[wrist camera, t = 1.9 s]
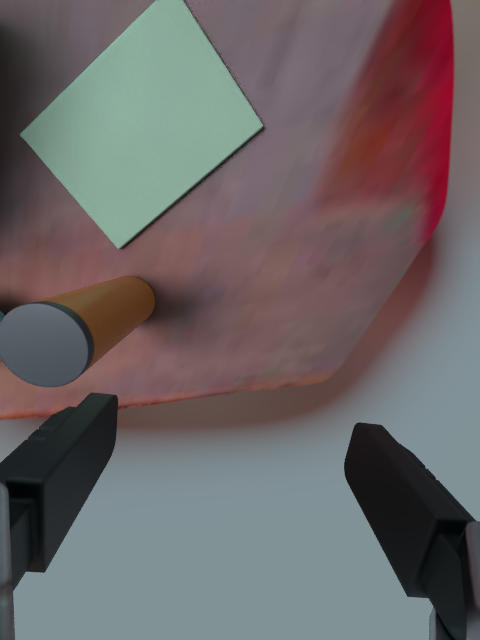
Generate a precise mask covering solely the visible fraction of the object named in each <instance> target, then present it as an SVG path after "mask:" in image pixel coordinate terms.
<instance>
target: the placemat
mask: <svg viewBox="0 0 480 640" xmlns="http://www.w3.org/2000/svg"><path fill="white" fill-rule="evenodd" d="M262 128H263V124H262V123H261V121H260V120H259V118H258V117H257V115H256V113H255V112H254V110H253V109H252V107H251V106H250V104H249V103H248V101H247V99H246V98H245V96H244V95H243V93H242V92H241V90H240V88H239V87H238V85H237V84H236V82H235V81H234V79H233V78H232V76H231V74H230V73H229V71H228V70H227V68H226V67H225V65H224V64H223V62H222V60H221V59H220V57H219V56H218V54H217V53H216V51H215V50H214V48H213V46H212V45H211V43H210V42H209V40H208V39H207V37H206V36H205V34H204V32H203V31H202V29H201V28H200V26H199V25H198V23H197V22H196V20H195V18H194V17H193V15H192V14H191V12H190V11H189V9H188V7H187V6H186V4H185V3H184V1H183V0H156V1H155V2H154V3H153V4H152V5H150V6H149V7H148V8H147V9H146V10H145V11H144V12H143V13H142V14H141V15H140V16H139V17H138V18H137V19H136V20H135V21H134V22H133V23H132V24H131V25H130V26H129V27H128V28H127V29H126V30H125V31H124V32H123V33H122V34H121V35H120V36H119V37H118V38H117V39H116V40H115V41H114V42H113V43H112V44H111V45H110V46H109V47H108V48H107V49H106V50H105V51H104V52H103V53H102V54H101V55H100V56H99V57H98V58H97V59H96V60H95V61H94V62H93V63H92V64H91V65H90V66H88V67H87V68H86V69H85V70H84V71H83V72H82V73H81V74H80V75H79V76H78V77H77V78H76V79H75V80H74V81H73V82H72V83H71V84H70V85H69V86H68V87H67V88H66V89H65V90H64V91H63V92H62V93H61V94H60V95H59V96H58V97H57V98H56V99H55V100H54V101H53V102H52V103H51V104H50V105H49V106H48V107H47V108H46V109H45V110H44V111H43V112H42V113H41V114H40V115H39V116H38V117H37V118H36V119H35V120H34V121H33V122H32V123H31V124H30V125H29V126H27V127H26V128H25V129H24V130H23V131H22V132H21V133H20V136H21V137H22V138H23V139H24V140H25V141H26V142H27V144H28V145H29V146H30V147H31V148H32V149H33V151H34V152H35V153H36V154H37V155H38V156H39V158H40V159H41V160H42V161H43V162H44V163H45V165H46V166H47V167H48V168H49V169H50V170H51V172H52V173H53V174H54V175H55V176H56V177H57V179H58V180H59V181H60V182H61V183H62V184H63V186H64V187H65V188H66V189H67V190H68V191H69V193H70V194H71V195H72V196H73V197H74V198H75V200H76V201H77V202H78V203H79V204H80V205H81V207H82V208H83V209H84V210H85V211H86V212H87V214H88V215H89V216H90V217H91V218H92V219H93V220H94V222H95V223H96V224H97V225H98V226H99V227H100V229H101V230H102V231H103V232H104V233H105V234H106V236H107V237H108V238H109V239H110V240H111V241H112V243H113V244H114V245H115V246H116V247H117V248H118V249H121V248H122V247H123V246H124V245H126V244H127V243H128V242H129V241H130V240H132V239H133V238H134V237H135V236H136V235H137V234H139V233H140V232H141V231H142V230H143V229H145V228H146V227H147V226H148V225H149V224H150V223H152V222H153V221H154V220H155V219H156V218H157V217H159V216H160V215H161V214H162V213H163V212H165V211H166V210H167V209H168V208H169V207H170V206H172V205H173V204H174V203H175V202H176V201H177V200H179V199H180V198H181V197H182V196H183V195H185V194H186V193H187V192H188V191H189V190H190V189H192V188H193V187H194V186H195V185H196V184H197V183H199V182H200V181H201V180H202V179H203V178H205V177H206V176H207V175H208V174H209V173H210V172H212V171H213V170H214V169H215V168H216V167H218V166H219V165H220V164H221V163H222V162H223V161H225V160H226V159H227V158H228V157H229V156H230V155H232V154H233V153H234V152H235V151H236V150H238V149H239V148H240V147H241V146H242V145H243V144H245V143H246V142H247V141H248V140H249V139H250V138H252V137H253V136H254V135H255V134H256V133H258V132H259V131H260V130H261V129H262Z"/></svg>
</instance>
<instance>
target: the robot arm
mask: <svg viewBox="0 0 480 640" xmlns="http://www.w3.org/2000/svg"><path fill="white" fill-rule="evenodd" d="M117 411H118V397H117V396H116V395H111V394H102V393H90V394H89V395H88V396H87V397H86V398H85V399H84V400H83V401H82V402H81V403H80V404H79V405H78V406H77V407H68V408H66V409H64V410H62V411H60V412H58V413H56V414H54V415H52V416H51V417H50V418H49V419H48V420H47V421H45V422H44V423H43V424H42V425H41V426H40V427H39V430H38V429H37V430H36V431H35V432H33V433H32V434H31V435H30V436H29V437H28V440H25V441H24V442H23V443H22V444H21V445H19V446H18V447H17V448H16V449H15V450H14V451H13V452H12V453H11V454H10V455H9V456H7V457H6V458H5V459H4V460H3V461H2V462H1V463H0V640H15V629H14V606H13V591H14V589H15V588H16V586H17V585H18V583H19V581H20V580H21V578H22V577H23V575H24V574H25V572H26V571H28V572H43V573H44V572H45V571H46V569H47V568H48V566H49V564H50V562H51V561H52V559H53V557H54V555H55V554H56V552H57V550H58V548H59V546H60V545H61V543H62V541H63V540H64V538H65V536H66V534H67V533H68V531H69V529H70V527H71V526H72V524H73V522H74V520H75V518H76V517H77V515H78V513H79V512H80V510H81V508H82V507H83V505H84V503H85V501H86V500H87V498H88V496H89V494H90V493H91V491H92V489H93V487H94V486H95V484H96V482H97V480H98V478H99V477H100V475H101V473H102V472H103V470H104V468H105V466H106V465H107V463H108V461H109V459H110V457H111V455H112V452H113V450H114V446H115V441H116V428H117ZM344 471H345V477H346V480H347V482H348V484H349V486H350V488H351V490H352V492H353V494H354V496H355V498H356V499H357V501H358V503H359V505H360V507H361V509H362V511H363V513H364V515H365V517H366V519H367V520H368V522H369V524H370V526H371V528H372V530H373V532H374V534H375V535H376V537H377V539H378V541H379V543H380V545H381V547H382V549H383V551H384V553H385V554H386V557H387V558H388V560H389V562H390V564H391V566H392V568H393V570H394V572H395V574H396V575H397V577H398V579H399V581H400V583H401V585H402V587H403V589H404V591H405V593H406V595H407V596H408V597H420V598H429V599H430V601H431V603H432V605H433V606H434V607H433V609H432V612H431V614H430V619H429V622H430V623H429V626H430V627H429V640H480V522H478V521H476V520H475V519H474V518H473V517H472V516H471V515H470V514H469V513H468V512H467V511H466V510H465V508H464V507H463V506H462V505H461V504H460V503H459V502H458V501H457V500H456V499H455V498H454V497H453V496H452V495H451V493H450V492H449V491H448V490H447V489H446V488H445V487H444V486H443V485H442V484H441V483H440V482H439V481H438V480H436V478H435V476H434V475H433V474H432V473H431V472H430V471H429V470H428V469H426V468H425V465H424V464H423V463H422V462H421V461H420V460H419V459H418V458H417V457H416V456H415V455H414V454H413V453H412V452H411V451H409V450H408V449H406V448H405V447H404V446H402V445H401V444H399V443H398V442H397V441H396V440H395V439H394V438H393V437H392V436H391V435H390V434H389V432H388V431H387V430H386V429H385V428H384V427H383V426H382V425H377V424H368V423H357V424H356V425H355V426H354V429H353V432H352V436H351V440H350V443H349V447H348V451H347V454H346V458H345V463H344Z"/></svg>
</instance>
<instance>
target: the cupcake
mask: <svg viewBox="0 0 480 640" xmlns="http://www.w3.org/2000/svg"><path fill="white" fill-rule="evenodd" d="M4 316H5V315H4V314H3V313H2V312H1V311H0V322H1V321H2V319H3V318H4Z"/></svg>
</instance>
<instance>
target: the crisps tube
mask: <svg viewBox="0 0 480 640" xmlns="http://www.w3.org/2000/svg"><path fill="white" fill-rule="evenodd" d="M154 306H155V297H154V294H153V291H152V289H151V288H150V287H149V285H148V284H147V283H146V282H144V281H143V280H141V279H139V278H137V277H132V276H125V277H121V278H117V279H113V280H110V281H106V282H103V283H99V284H95V285H92V286H88V287H85V288H81V289H77V290H74V291H70V292H67V293H63V294H59V295H56V296H52V297H49V298H45V299H41V300H38V301H34V302H31V303H27V304H24V305H21V306H18V307H16V308H14V309H12V310H11V311H10V312H8V313H7V314H6V315H5V316H4V318H3V319H2V321H1V322H0V356H1V358H2V360H3V362H4V363H5V364H6V366H7V367H8V368H9V369H10V370H11V371H12V372H13V373H14V374H15V375H16V376H18V377H19V378H21V379H22V380H24V381H26V382H28V383H31V384H33V385H37V386H42V387H58V386H63V385H66V384H68V383H70V382H72V381H74V380H75V379H77V378H78V377H79V376H80V375H81V374H83V373H84V372H85V371H86V370H87V369H88V368H90V367H91V366H92V365H93V364H94V363H95V362H97V361H98V360H99V359H100V358H101V357H102V356H104V355H105V354H106V353H107V352H108V351H110V350H111V349H112V348H113V347H114V346H115V345H117V344H118V343H119V342H120V341H121V340H122V339H124V338H125V337H126V336H127V335H128V334H129V333H131V332H132V331H133V330H134V329H135V328H136V327H138V326H139V325H140V324H141V323H142V322H143V321H145V320H146V319H147V318H148V317H149V316H150V315H151V314H152V312H153V310H154Z"/></svg>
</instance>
